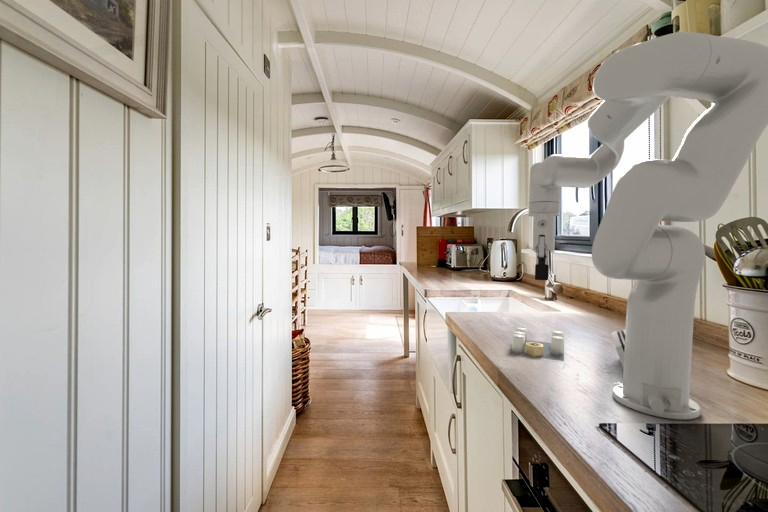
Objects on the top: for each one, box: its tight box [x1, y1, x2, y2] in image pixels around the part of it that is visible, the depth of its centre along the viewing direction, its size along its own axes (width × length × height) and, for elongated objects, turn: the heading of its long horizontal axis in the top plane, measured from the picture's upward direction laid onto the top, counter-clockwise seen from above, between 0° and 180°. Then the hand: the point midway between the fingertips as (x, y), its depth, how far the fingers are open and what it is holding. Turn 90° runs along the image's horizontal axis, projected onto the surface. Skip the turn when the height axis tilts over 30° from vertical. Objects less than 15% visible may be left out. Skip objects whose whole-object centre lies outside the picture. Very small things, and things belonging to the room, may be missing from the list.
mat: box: [509, 339, 565, 362], centre depth 99 cm, size 16×12×1 cm
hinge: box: [611, 329, 626, 371], centre depth 84 cm, size 17×5×10 cm, turn 151°
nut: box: [525, 342, 543, 357], centre depth 93 cm, size 5×4×2 cm
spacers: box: [511, 327, 565, 355], centre depth 98 cm, size 13×12×4 cm
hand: (541, 279), depth 98 cm, fingers closed
